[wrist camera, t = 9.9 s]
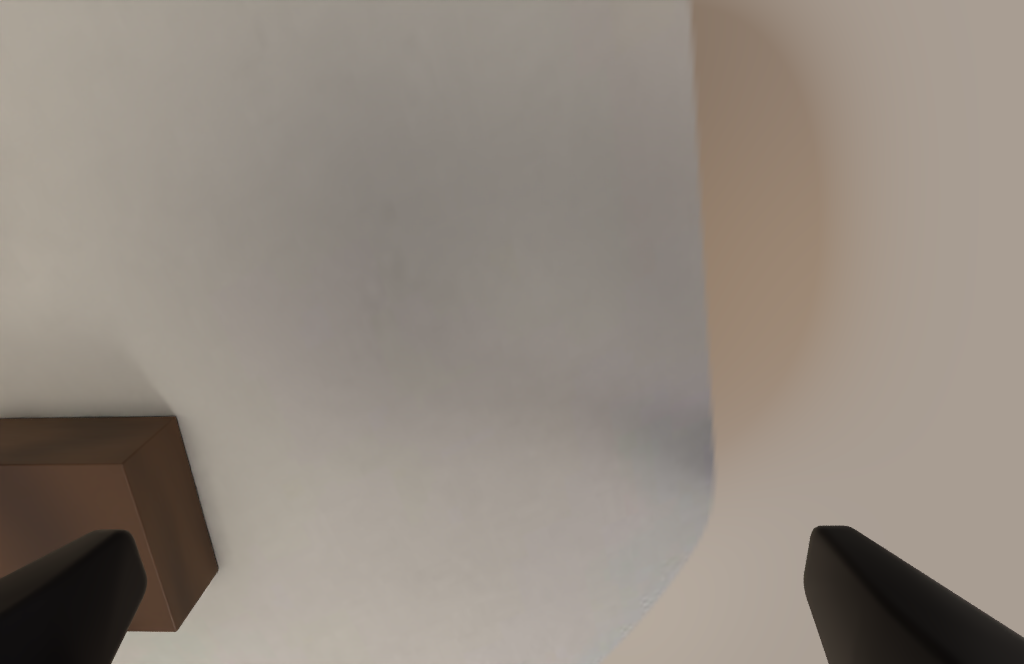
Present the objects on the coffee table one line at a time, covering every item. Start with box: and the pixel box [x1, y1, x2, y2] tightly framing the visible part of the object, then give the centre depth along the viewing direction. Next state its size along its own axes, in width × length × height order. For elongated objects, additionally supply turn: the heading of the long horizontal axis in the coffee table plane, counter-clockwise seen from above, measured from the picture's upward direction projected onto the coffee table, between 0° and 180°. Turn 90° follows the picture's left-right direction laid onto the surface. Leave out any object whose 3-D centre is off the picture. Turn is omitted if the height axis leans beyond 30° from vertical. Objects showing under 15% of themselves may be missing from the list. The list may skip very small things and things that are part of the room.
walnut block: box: [0, 417, 218, 632], centre depth 22 cm, size 7×7×3 cm
